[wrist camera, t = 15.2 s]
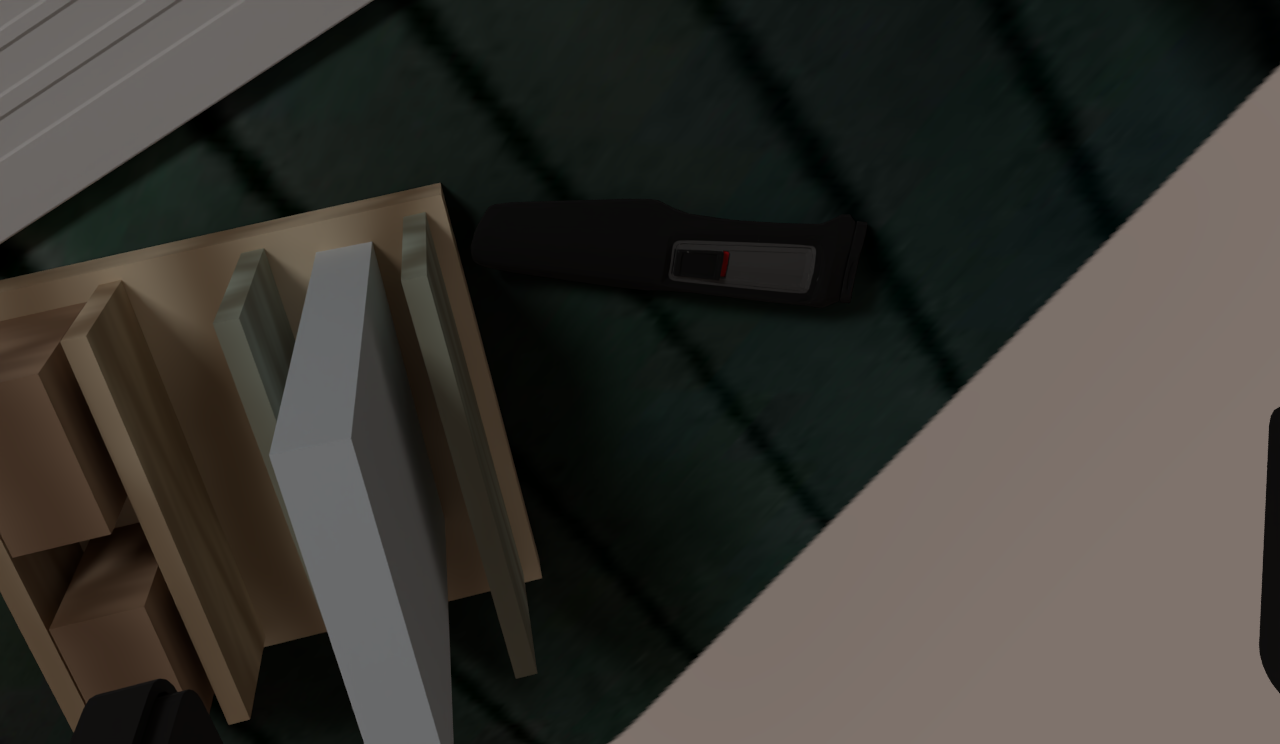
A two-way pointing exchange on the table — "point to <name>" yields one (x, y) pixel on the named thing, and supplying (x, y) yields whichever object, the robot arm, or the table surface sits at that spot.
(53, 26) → the baseboard
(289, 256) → the rack
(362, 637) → the sheet
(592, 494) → the table surface
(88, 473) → the offcut
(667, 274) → the electric trimmer
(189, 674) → the offcut
